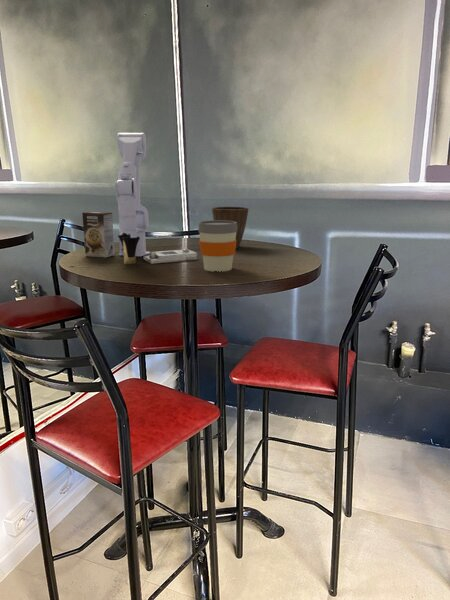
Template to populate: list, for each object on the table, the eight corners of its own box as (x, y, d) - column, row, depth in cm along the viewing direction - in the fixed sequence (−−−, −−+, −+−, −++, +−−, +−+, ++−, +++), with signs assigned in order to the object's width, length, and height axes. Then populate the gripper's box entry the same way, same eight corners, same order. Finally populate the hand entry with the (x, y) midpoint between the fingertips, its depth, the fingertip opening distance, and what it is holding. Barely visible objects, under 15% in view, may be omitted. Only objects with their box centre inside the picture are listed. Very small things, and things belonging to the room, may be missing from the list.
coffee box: (84, 256, 175) (81, 212, 170) (95, 253, 180) (91, 210, 176) (105, 257, 172) (102, 213, 167) (115, 254, 177) (112, 211, 173)
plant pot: (213, 244, 202) (212, 206, 197) (247, 244, 201) (248, 206, 197) (210, 250, 187) (210, 209, 183) (248, 250, 187) (248, 209, 182)
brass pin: (122, 263, 161) (120, 240, 159) (128, 261, 165) (126, 238, 162) (132, 264, 160) (130, 241, 158) (138, 262, 163) (136, 239, 161)
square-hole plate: (151, 263, 161) (150, 254, 160) (143, 259, 169) (143, 250, 168) (196, 259, 168) (196, 250, 167) (187, 255, 176) (187, 246, 175)
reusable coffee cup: (200, 264, 159) (199, 220, 155) (237, 264, 159) (237, 220, 155) (197, 272, 147) (196, 224, 143) (237, 272, 147) (237, 224, 143)
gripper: (145, 217, 153) (147, 258, 157) (133, 213, 166) (135, 251, 169) (123, 218, 150) (126, 260, 154) (113, 214, 163) (115, 253, 166)
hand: (129, 256), depth 161 cm, fingers closed on brass pin, 4 cm apart
